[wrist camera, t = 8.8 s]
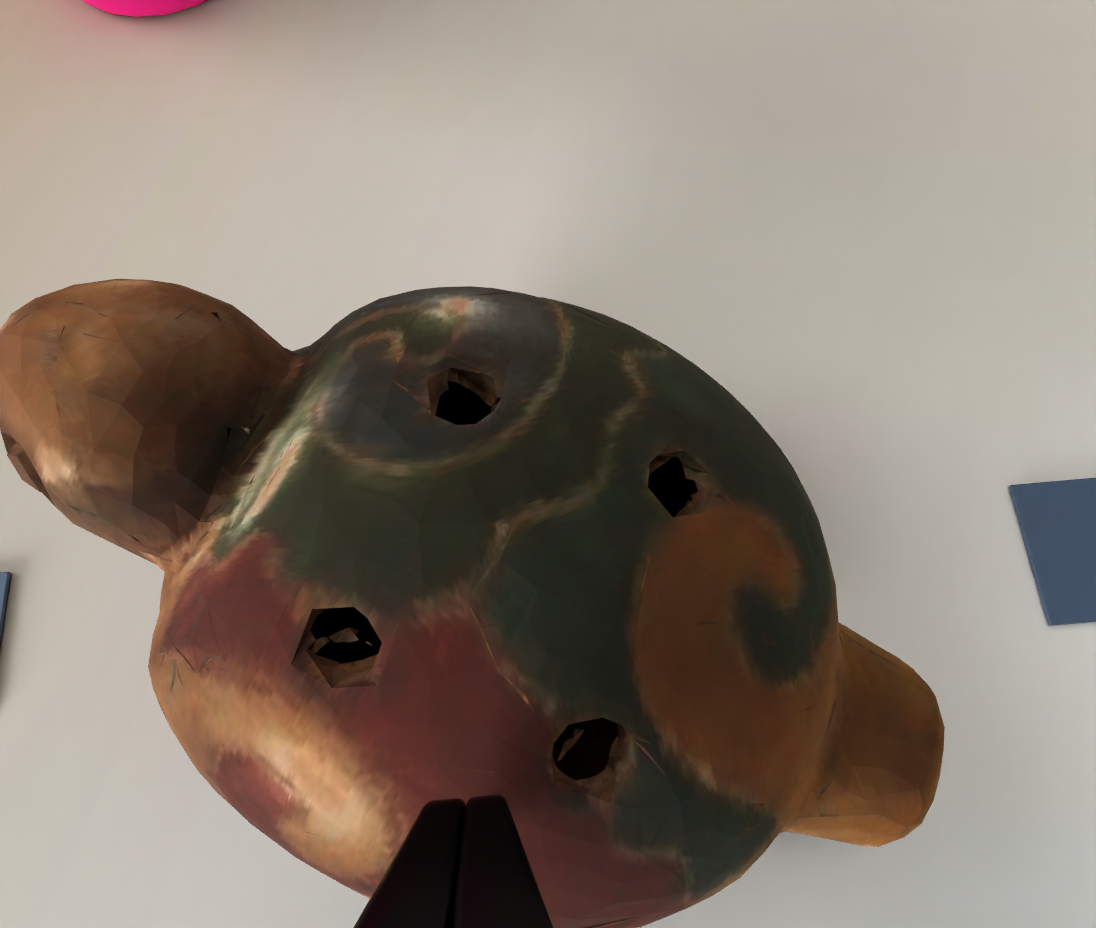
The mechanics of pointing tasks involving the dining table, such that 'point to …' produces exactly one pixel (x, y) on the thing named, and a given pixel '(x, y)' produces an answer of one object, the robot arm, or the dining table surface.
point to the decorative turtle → (473, 585)
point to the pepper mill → (143, 6)
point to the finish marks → (1050, 537)
